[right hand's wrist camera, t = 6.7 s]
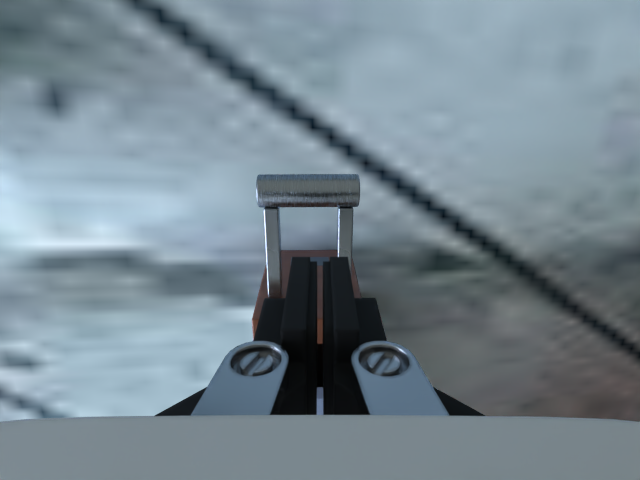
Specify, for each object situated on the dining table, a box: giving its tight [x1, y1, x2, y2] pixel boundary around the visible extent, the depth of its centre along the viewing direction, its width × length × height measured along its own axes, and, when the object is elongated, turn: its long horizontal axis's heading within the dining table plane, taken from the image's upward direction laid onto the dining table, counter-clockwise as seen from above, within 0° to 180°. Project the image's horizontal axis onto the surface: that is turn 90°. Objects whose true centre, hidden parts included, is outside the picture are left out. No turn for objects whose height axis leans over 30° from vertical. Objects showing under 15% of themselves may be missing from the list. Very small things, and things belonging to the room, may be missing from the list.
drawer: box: [252, 174, 361, 387], centre depth 21 cm, size 21×5×7 cm, turn 0°
